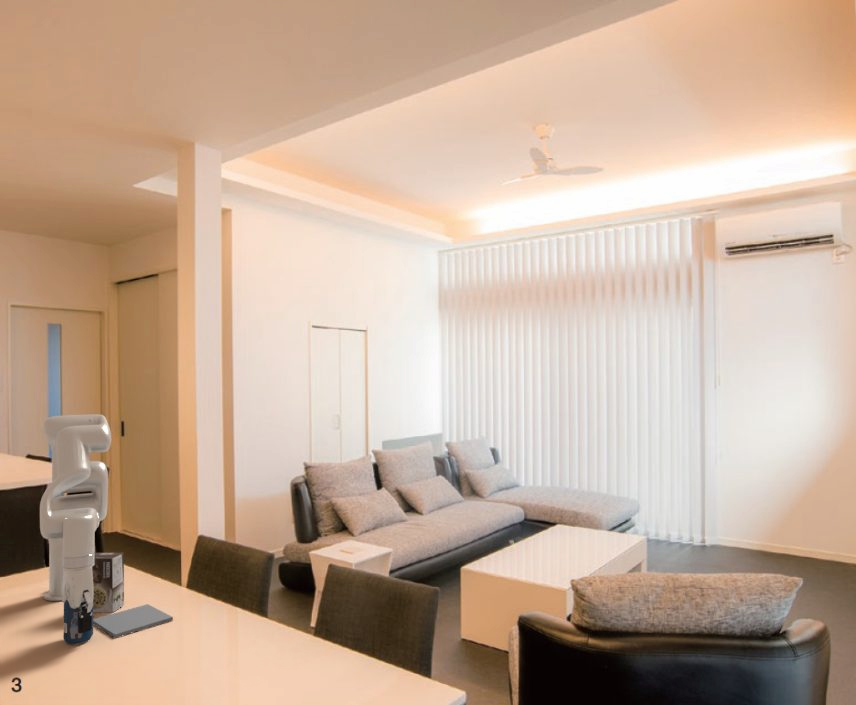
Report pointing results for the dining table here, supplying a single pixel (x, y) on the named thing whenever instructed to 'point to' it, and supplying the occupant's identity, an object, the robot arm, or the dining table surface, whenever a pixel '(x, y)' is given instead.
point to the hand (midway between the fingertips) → (78, 627)
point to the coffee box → (108, 582)
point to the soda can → (74, 626)
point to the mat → (131, 620)
